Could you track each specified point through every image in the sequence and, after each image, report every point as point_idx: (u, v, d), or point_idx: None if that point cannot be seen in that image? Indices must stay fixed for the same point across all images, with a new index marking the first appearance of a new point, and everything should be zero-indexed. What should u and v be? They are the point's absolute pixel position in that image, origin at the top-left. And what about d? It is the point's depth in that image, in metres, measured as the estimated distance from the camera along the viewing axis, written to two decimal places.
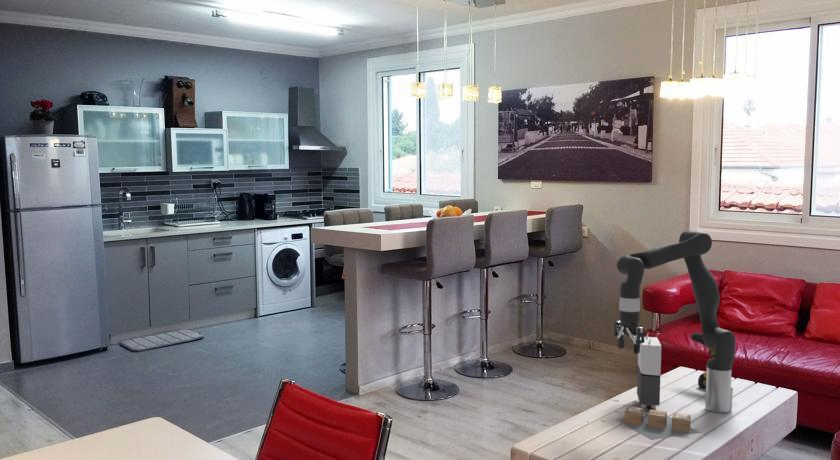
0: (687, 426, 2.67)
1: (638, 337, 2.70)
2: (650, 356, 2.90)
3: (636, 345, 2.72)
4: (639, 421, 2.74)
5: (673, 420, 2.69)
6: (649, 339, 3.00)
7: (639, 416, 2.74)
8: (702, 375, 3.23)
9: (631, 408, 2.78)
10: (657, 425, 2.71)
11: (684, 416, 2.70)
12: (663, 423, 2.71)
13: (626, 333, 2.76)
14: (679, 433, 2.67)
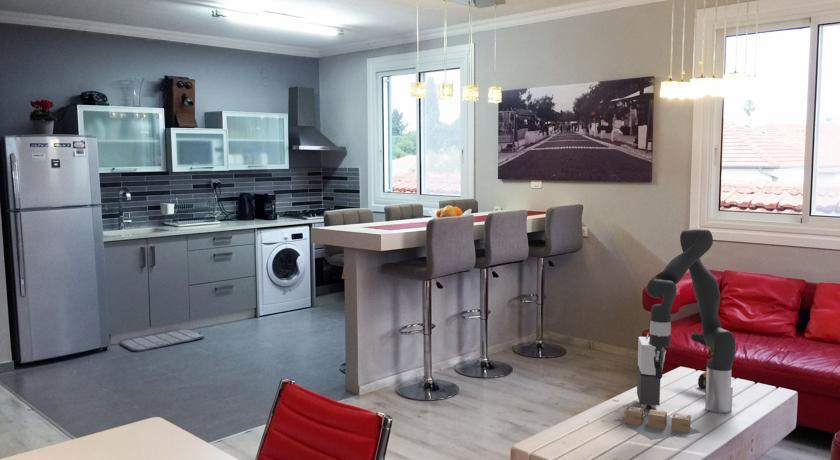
0: (687, 426, 2.67)
1: None
2: (650, 356, 2.90)
3: None
4: (639, 421, 2.74)
5: (673, 420, 2.69)
6: None
7: (639, 416, 2.74)
8: (702, 375, 3.23)
9: (631, 408, 2.78)
10: (657, 425, 2.71)
11: (684, 416, 2.70)
12: (663, 423, 2.71)
13: None
14: (679, 433, 2.67)
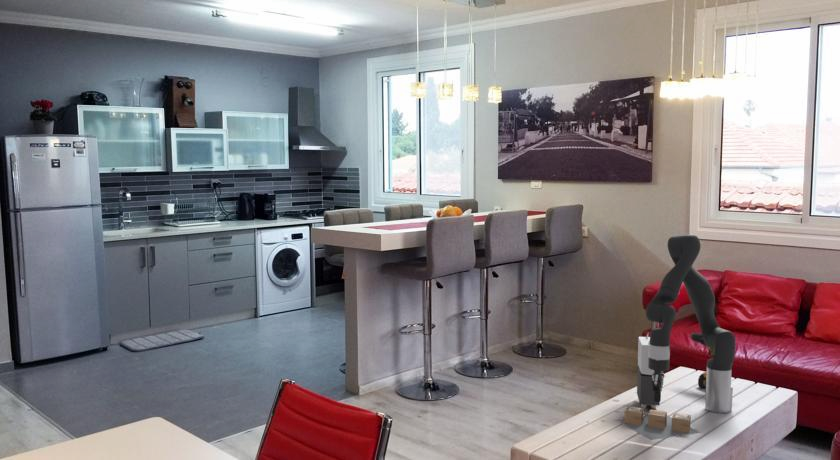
0: (687, 426, 2.67)
1: None
2: None
3: None
4: (639, 421, 2.74)
5: (673, 420, 2.69)
6: (649, 339, 3.00)
7: (639, 416, 2.74)
8: (702, 375, 3.23)
9: (631, 408, 2.78)
10: (657, 425, 2.71)
11: (684, 416, 2.70)
12: (663, 423, 2.71)
13: None
14: (679, 433, 2.67)
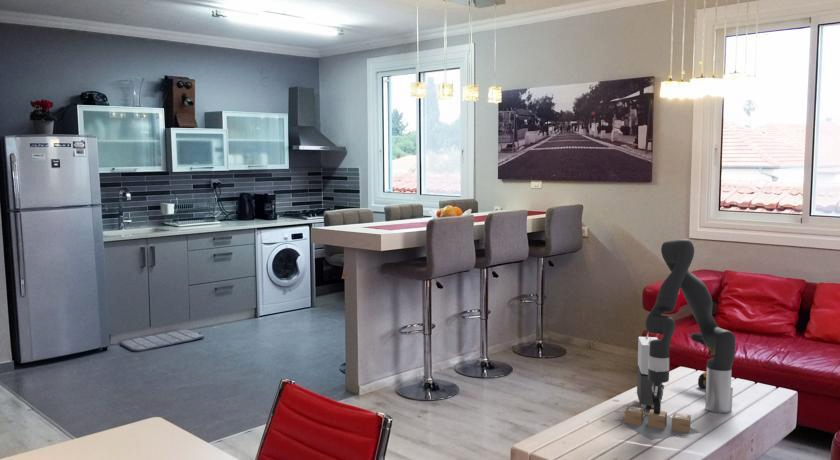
0: (687, 426, 2.67)
1: None
2: None
3: None
4: (639, 421, 2.74)
5: (673, 420, 2.69)
6: (649, 339, 3.00)
7: (639, 416, 2.74)
8: (702, 375, 3.23)
9: (631, 408, 2.78)
10: (657, 425, 2.71)
11: (684, 416, 2.70)
12: (663, 423, 2.71)
13: None
14: (679, 433, 2.67)
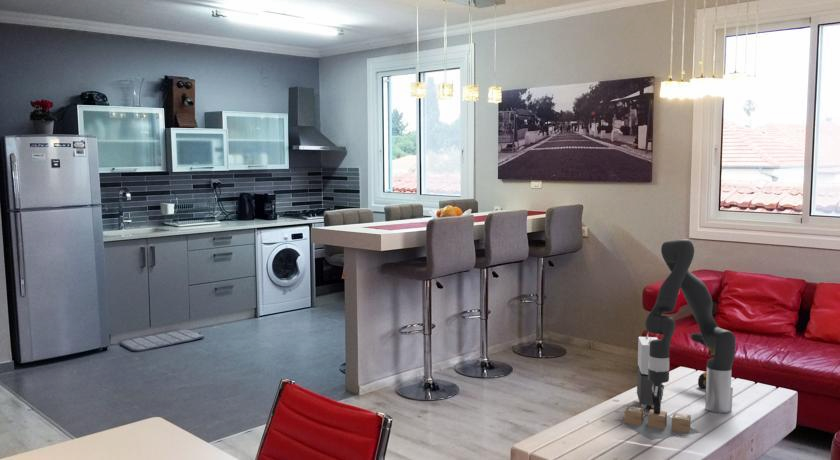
0: (687, 426, 2.67)
1: None
2: None
3: None
4: (639, 421, 2.74)
5: (673, 420, 2.69)
6: (649, 339, 3.00)
7: (639, 416, 2.74)
8: (702, 375, 3.23)
9: (631, 408, 2.78)
10: (657, 425, 2.71)
11: (684, 416, 2.70)
12: (663, 423, 2.71)
13: None
14: (679, 433, 2.67)
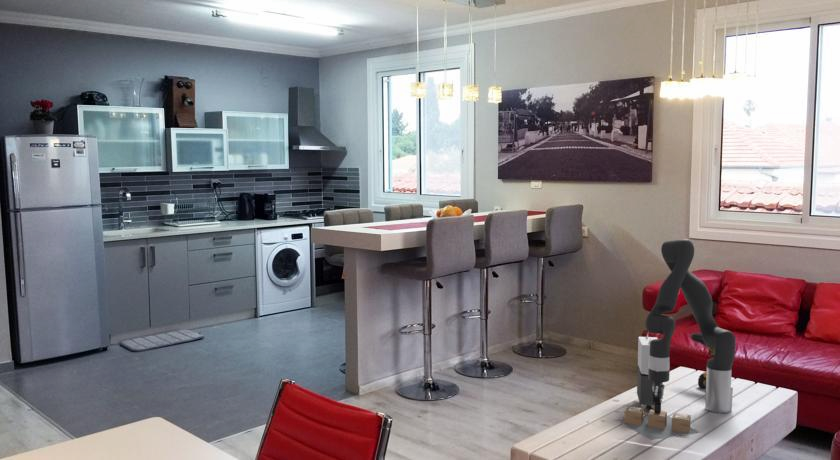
0: (687, 426, 2.67)
1: None
2: None
3: None
4: (639, 421, 2.74)
5: (673, 420, 2.69)
6: (649, 339, 3.00)
7: (639, 416, 2.74)
8: (702, 375, 3.23)
9: (631, 408, 2.78)
10: (657, 425, 2.71)
11: (684, 416, 2.70)
12: (663, 423, 2.71)
13: None
14: (679, 433, 2.67)
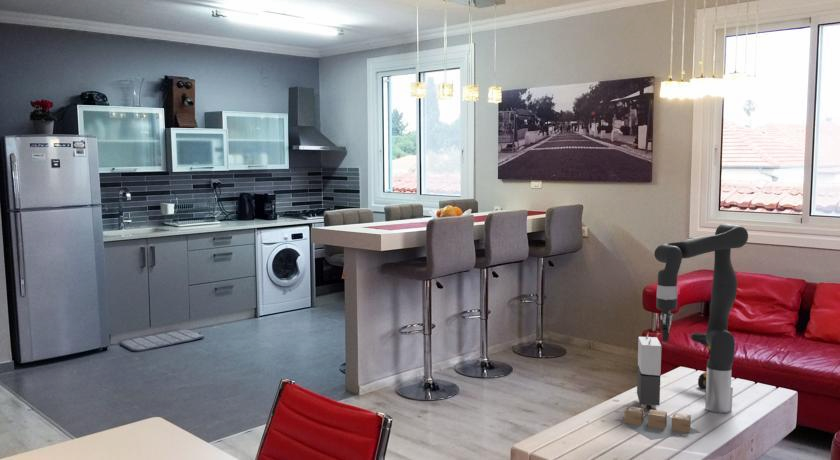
0: (687, 426, 2.67)
1: None
2: (650, 356, 2.90)
3: None
4: (639, 421, 2.74)
5: (673, 420, 2.69)
6: (649, 339, 3.00)
7: (639, 416, 2.74)
8: (702, 375, 3.23)
9: (631, 408, 2.78)
10: (657, 425, 2.71)
11: (684, 416, 2.70)
12: (663, 423, 2.71)
13: None
14: (679, 433, 2.67)
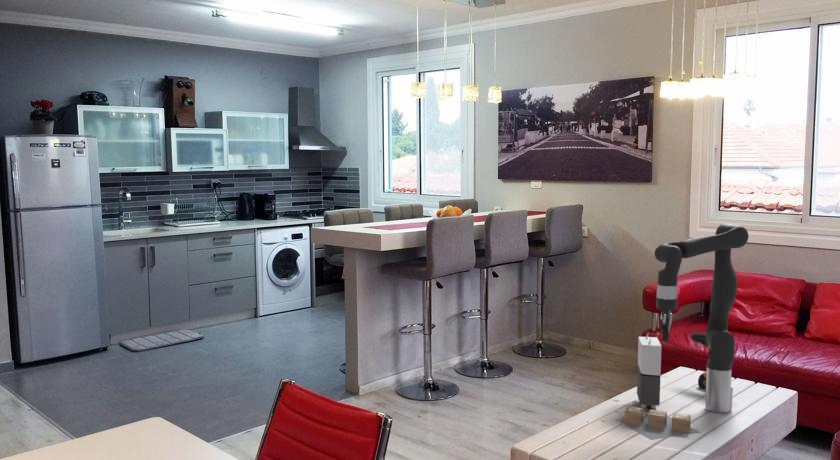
0: (687, 426, 2.67)
1: None
2: (650, 356, 2.90)
3: None
4: (639, 421, 2.74)
5: (673, 420, 2.69)
6: (649, 339, 3.00)
7: (639, 416, 2.74)
8: (702, 375, 3.23)
9: (631, 408, 2.78)
10: (657, 425, 2.71)
11: (684, 416, 2.70)
12: (663, 423, 2.71)
13: None
14: (679, 433, 2.67)
